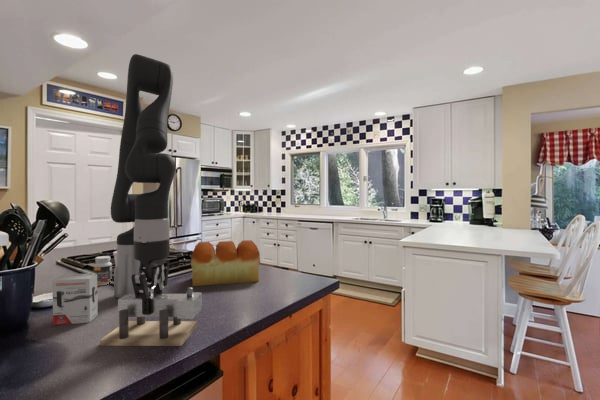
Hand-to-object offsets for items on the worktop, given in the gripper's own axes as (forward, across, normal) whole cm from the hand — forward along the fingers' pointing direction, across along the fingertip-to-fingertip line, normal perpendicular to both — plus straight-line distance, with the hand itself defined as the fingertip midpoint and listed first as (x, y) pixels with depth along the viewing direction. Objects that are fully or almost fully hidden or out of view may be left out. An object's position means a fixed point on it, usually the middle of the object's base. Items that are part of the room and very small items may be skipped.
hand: (152, 309), depth 71 cm
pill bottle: (+6, -40, -38) cm, 56 cm away
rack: (+6, 0, 0) cm, 6 cm away
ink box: (+6, -8, -24) cm, 26 cm away
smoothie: (+6, -52, -38) cm, 65 cm away
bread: (+6, -47, +6) cm, 48 cm away
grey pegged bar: (+1, 0, +2) cm, 2 cm away
